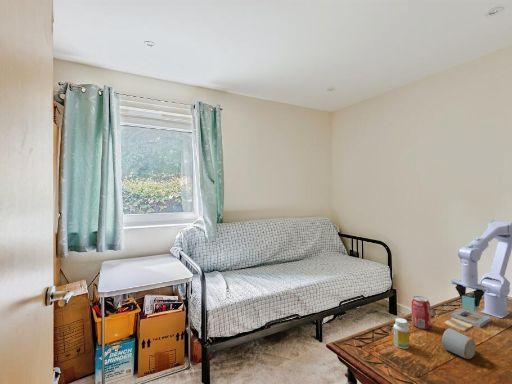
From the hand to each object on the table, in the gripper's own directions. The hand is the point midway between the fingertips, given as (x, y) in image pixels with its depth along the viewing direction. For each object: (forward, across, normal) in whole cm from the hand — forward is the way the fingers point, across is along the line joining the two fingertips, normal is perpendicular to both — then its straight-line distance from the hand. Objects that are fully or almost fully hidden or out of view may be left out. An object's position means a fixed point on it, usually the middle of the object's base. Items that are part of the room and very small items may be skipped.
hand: (470, 303), depth 124 cm
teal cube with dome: (+2, 0, 0) cm, 2 cm away
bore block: (+7, 0, 0) cm, 7 cm away
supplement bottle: (+7, -4, -46) cm, 46 cm away
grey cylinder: (+7, +10, -32) cm, 35 cm away
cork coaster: (+7, 0, -11) cm, 13 cm away
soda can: (+7, -8, -25) cm, 27 cm away
